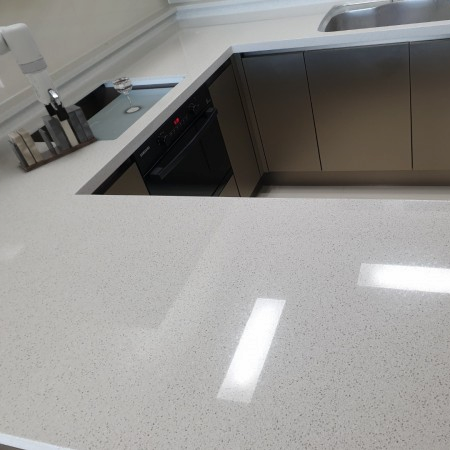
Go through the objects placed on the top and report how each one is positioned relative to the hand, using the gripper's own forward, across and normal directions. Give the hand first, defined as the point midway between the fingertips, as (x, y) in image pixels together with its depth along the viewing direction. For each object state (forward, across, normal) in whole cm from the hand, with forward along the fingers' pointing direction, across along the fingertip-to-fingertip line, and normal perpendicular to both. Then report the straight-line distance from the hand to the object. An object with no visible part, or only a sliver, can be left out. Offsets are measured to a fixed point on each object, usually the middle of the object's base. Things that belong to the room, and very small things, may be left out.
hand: (59, 117), depth 154 cm
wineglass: (+11, -11, +28) cm, 33 cm away
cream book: (+10, 0, 0) cm, 10 cm away
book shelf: (+11, 0, -6) cm, 12 cm away
